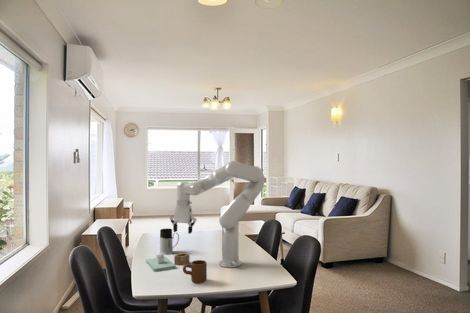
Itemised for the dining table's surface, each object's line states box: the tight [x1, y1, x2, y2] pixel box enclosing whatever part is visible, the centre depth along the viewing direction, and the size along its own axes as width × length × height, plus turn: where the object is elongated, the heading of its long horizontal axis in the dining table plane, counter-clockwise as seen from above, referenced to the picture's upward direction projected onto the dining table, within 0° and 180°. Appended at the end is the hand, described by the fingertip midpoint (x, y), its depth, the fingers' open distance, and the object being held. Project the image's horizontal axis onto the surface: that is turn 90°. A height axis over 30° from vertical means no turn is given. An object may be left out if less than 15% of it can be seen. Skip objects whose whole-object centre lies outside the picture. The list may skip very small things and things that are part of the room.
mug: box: [182, 259, 208, 284], centre depth 174 cm, size 12×8×9 cm, turn 112°
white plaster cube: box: [155, 254, 165, 264], centre depth 202 cm, size 4×4×4 cm
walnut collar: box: [173, 252, 190, 266], centre depth 204 cm, size 6×6×5 cm
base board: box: [145, 256, 176, 272], centre depth 202 cm, size 20×12×2 cm, turn 27°
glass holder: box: [159, 228, 180, 256], centre depth 227 cm, size 9×14×15 cm, turn 64°
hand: (182, 232), depth 206 cm, fingers open, 9 cm apart
